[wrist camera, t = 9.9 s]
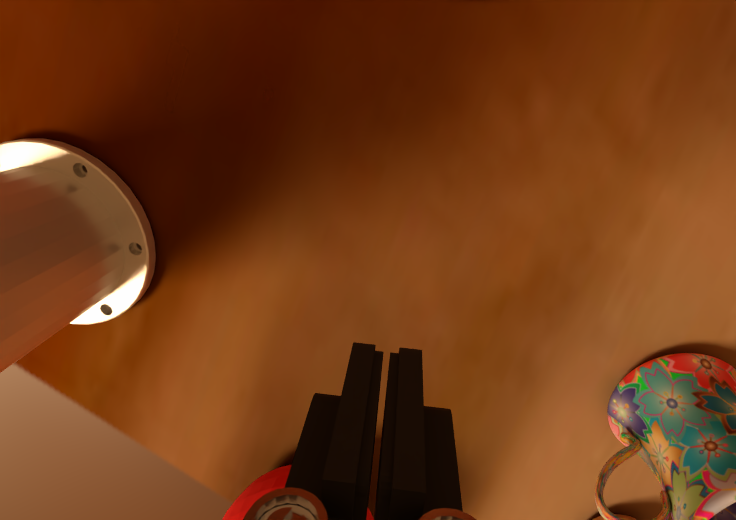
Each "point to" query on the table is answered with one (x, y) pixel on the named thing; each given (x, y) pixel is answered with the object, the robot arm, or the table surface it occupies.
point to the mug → (679, 434)
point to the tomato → (262, 493)
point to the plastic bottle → (626, 518)
